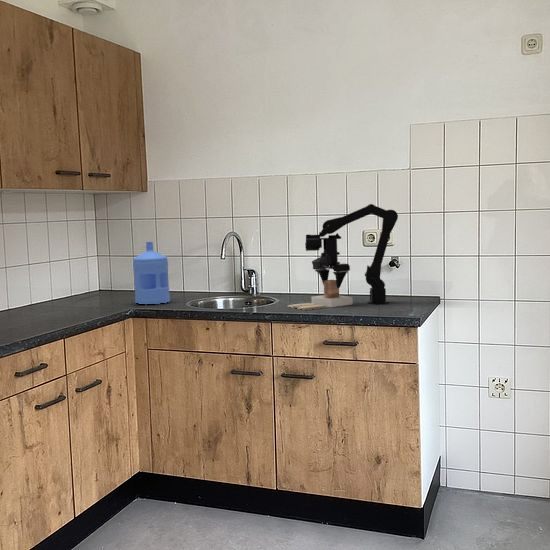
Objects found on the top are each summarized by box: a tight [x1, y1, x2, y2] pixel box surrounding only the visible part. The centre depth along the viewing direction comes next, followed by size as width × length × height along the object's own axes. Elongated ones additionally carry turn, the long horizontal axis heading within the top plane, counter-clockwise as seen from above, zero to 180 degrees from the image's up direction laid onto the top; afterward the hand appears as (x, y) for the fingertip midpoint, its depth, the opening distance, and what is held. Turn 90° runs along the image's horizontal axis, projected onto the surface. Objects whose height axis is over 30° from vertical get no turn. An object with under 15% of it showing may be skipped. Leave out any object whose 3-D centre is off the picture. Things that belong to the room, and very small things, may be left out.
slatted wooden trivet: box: [287, 302, 327, 311], centre depth 272 cm, size 13×10×1 cm
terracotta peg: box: [323, 279, 340, 298], centre depth 278 cm, size 4×4×10 cm
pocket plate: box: [310, 294, 354, 308], centre depth 278 cm, size 14×11×3 cm
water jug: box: [132, 241, 171, 305], centre depth 302 cm, size 16×16×28 cm
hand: (331, 287), depth 278 cm, fingers open, 9 cm apart
